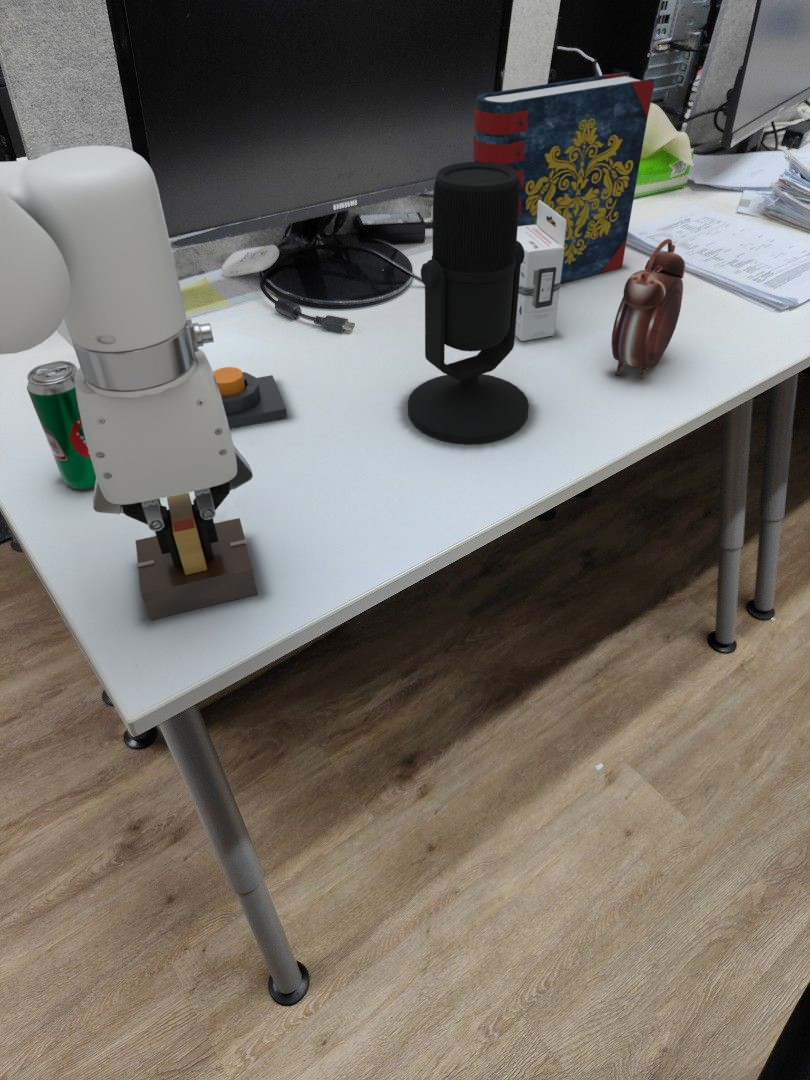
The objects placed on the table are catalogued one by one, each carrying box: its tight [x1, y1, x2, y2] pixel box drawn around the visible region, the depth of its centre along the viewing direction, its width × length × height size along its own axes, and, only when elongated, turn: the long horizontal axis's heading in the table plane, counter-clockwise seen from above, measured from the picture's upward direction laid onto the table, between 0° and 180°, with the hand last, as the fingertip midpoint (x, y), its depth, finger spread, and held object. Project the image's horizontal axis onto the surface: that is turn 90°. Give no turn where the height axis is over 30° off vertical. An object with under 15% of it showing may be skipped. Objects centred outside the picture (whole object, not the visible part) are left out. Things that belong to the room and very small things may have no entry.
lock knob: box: [166, 492, 207, 575], centre depth 63 cm, size 5×2×5 cm, turn 19°
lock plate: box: [135, 517, 259, 621], centre depth 65 cm, size 9×7×3 cm
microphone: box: [407, 161, 530, 445], centre depth 78 cm, size 14×14×25 cm
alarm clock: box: [610, 238, 686, 379], centre depth 87 cm, size 11×5×15 cm, turn 146°
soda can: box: [26, 360, 96, 490], centre depth 74 cm, size 5×5×12 cm
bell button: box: [213, 366, 245, 396], centre depth 85 cm, size 4×4×2 cm
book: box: [472, 71, 655, 285], centre depth 104 cm, size 25×7×25 cm, turn 119°
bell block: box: [221, 371, 288, 430], centre depth 86 cm, size 11×8×3 cm
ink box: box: [515, 200, 567, 342], centre depth 96 cm, size 8×5×15 cm, turn 17°
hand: (191, 550), depth 64 cm, fingers closed on lock knob, 2 cm apart
